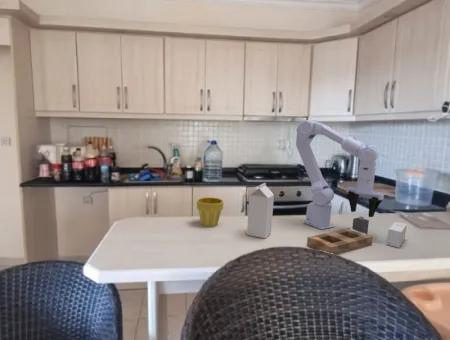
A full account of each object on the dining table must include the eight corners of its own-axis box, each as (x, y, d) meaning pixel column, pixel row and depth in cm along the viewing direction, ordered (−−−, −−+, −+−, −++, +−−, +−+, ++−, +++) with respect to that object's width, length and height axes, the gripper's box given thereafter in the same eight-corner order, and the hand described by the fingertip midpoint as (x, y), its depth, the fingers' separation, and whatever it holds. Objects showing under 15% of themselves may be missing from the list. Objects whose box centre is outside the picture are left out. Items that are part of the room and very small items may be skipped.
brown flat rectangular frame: (306, 245, 109) (307, 236, 109) (347, 235, 121) (348, 227, 121) (330, 256, 101) (331, 246, 101) (371, 244, 113) (372, 235, 112)
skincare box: (405, 239, 121) (399, 248, 111) (392, 236, 123) (385, 245, 114) (407, 223, 120) (401, 231, 110) (394, 221, 122) (388, 228, 113)
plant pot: (206, 230, 120) (207, 204, 119) (191, 222, 128) (192, 198, 126) (227, 225, 126) (228, 201, 125) (212, 218, 134) (213, 196, 133)
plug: (351, 233, 124) (353, 216, 123) (358, 231, 126) (359, 214, 125) (360, 236, 121) (362, 219, 120) (367, 235, 123) (369, 217, 122)
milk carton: (271, 233, 120) (274, 183, 117) (265, 239, 114) (269, 186, 111) (253, 229, 123) (256, 181, 120) (246, 235, 117) (249, 184, 114)
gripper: (342, 176, 124) (339, 210, 126) (377, 183, 112) (373, 220, 114) (353, 175, 128) (350, 208, 130) (388, 182, 116) (384, 218, 118)
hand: (361, 214), depth 122 cm, fingers open, 7 cm apart
